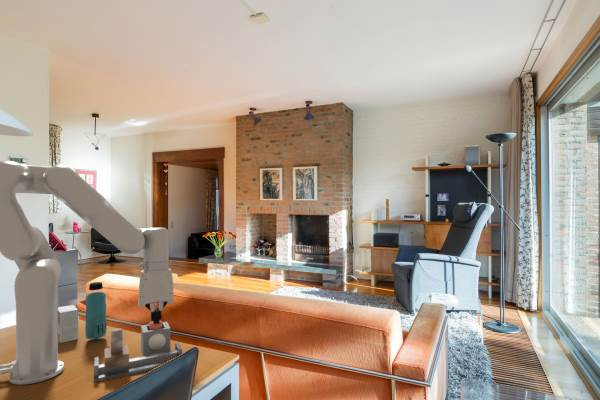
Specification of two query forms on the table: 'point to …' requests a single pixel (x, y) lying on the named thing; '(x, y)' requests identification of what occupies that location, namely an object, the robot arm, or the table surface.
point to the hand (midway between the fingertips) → (156, 322)
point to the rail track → (135, 365)
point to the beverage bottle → (95, 312)
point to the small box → (67, 323)
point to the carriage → (116, 351)
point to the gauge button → (155, 325)
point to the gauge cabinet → (155, 340)
